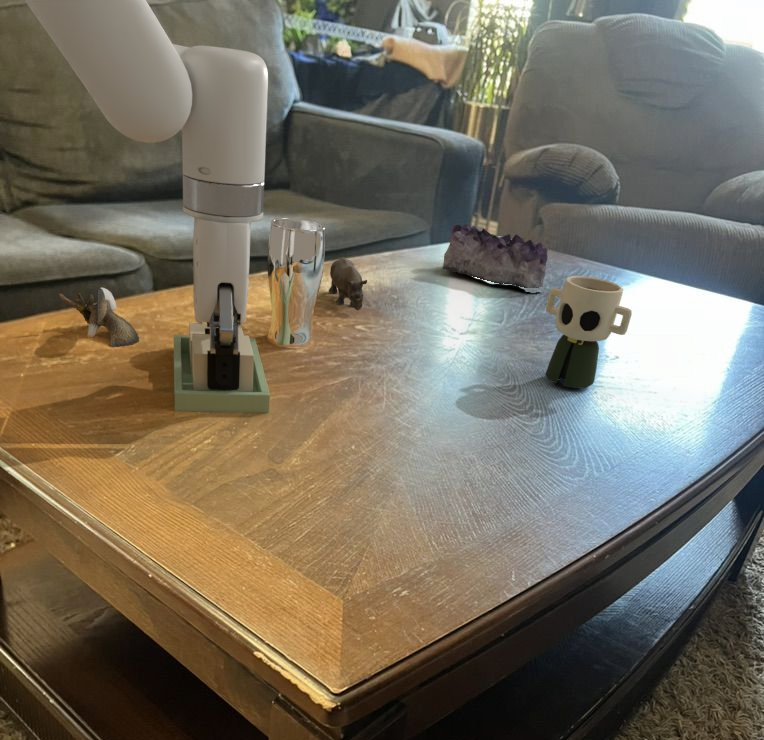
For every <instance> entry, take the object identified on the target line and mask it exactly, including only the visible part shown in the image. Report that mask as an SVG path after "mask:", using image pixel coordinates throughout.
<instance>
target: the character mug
mask: <svg viewBox="0 0 764 740" xmlns="http://www.w3.org/2000/svg"><path fill="white" fill-rule="evenodd" d="M623 293H624V288H623V287H622V286H621V285H619V284H618V283H615V282H612V281H610V280H607V279H604V278H598V277H594V276H585V275H571V276H568V277H567V278H565V281H564V284H563V288H562V289H561V288H557V287H551V288H550V290H549V292H548V295H547V300H546V305H545V312H546V313H548V314H549V315H553V316H555V320H554V321H555V327H556V330H557V331H558V332H559V333H560V334H562V335H561V336H560V337H559V339H558V341H557V343H556V345H555V348H554V350H553V352H552V355H551V357H550V359H549V360H550V361H549V363H548V366H547V368H546V372H545V376H546V378H547V379H548V380H550V381H551V382H553V383H554V384H558V382H559V380H558V379H560V378H561V379H560V380H563V381H564V382H563V386H564V387H566V388H572V389H586V388H589V387H591V386H592V385H593V384H594V382H595V379H596V374H597V367H598V362H599V361H598V359H599V352H600V347H599V346H600V345H599V342H602V341H605V340H607V339H608V338H609V337H610V336H611V334H612V333H613V334H616V335H620V336H624V335H626V333H627V332H628V329H629V325H630V321H631V319H632V309H630V308H628V307H626V306H622V305H620V304H621V301H622V297H623ZM556 297H557V298H560V300H559V304H558V307H556V306H554V305H555V301H556ZM617 315H621V316H622V317H621V321H620V325H617V324H615V322H616V318H617Z"/></svg>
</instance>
